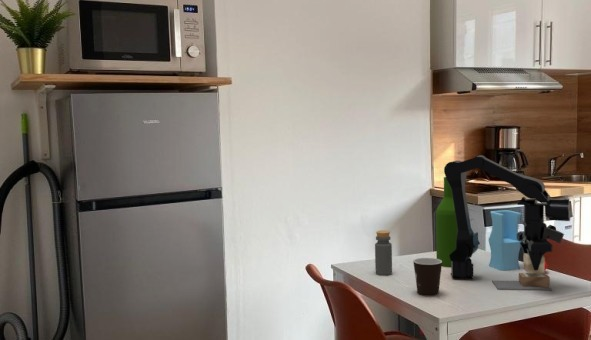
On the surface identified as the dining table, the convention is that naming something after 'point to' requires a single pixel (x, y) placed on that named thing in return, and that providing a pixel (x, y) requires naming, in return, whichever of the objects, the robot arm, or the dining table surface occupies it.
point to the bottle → (383, 254)
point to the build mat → (515, 286)
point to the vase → (504, 240)
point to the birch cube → (529, 267)
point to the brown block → (534, 279)
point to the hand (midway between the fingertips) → (533, 268)
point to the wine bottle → (446, 227)
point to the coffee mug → (427, 275)
